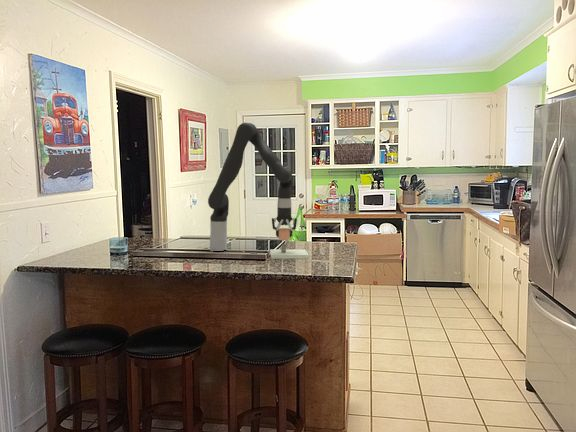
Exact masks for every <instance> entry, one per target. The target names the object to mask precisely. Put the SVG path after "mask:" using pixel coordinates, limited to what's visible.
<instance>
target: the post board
mask: <svg viewBox="0 0 576 432" xmlns="http://www.w3.org/2000/svg"><path fill="white" fill-rule="evenodd" d="M286 247H287V244H285V243H282V244H281V249H269V254H270V258H271V259H272V260H273V259H274V260H275V259H278V260H279V259H281V260H282V259H285V260H286V259H287V260H289V259H303V260H304V259H306V260H308V259H310V258H309V257H310V255H309V253H308V251H307V250H306V249H287V248H286Z"/></svg>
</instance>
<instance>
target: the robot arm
mask: <svg viewBox="0 0 576 432" xmlns="http://www.w3.org/2000/svg"><path fill="white" fill-rule="evenodd" d="M249 143H251V144H252V145H253V147H255V149H256V150H257V152H258V153H259V156H260V158H261V159H262V161H263V162H264V163H265V165H267V167H268V168H269V169H270V170H271V172H272V173H273V175H274V177H275V179H277V181H279V188H278V191H277V204H276V205H277V215H276V217H271V225H272V226H271V227H272V229H273V230H275V236H276V238H278V237H279V228H281V226H288V228H289V229H290V238H291V237H293V231H294V230H296V229H297V223H298V219H297V217H293V216H292V184H293V173H292V171H291V170H290V169H287V168H285V166H284V165H283V164H282V161H281V160H280V158H279V157H278V156H277V155H276V154H275V152H274V151H273V150H272V149H271V148H270V147H269V144H267V143H266V141H265V140H264V138H263V136H262V135H261V133H260V132H259V129H258V128H257V127H256V125H255V124H253V123H251V122H242V123H241V124H239V125H238V126H237V130H236V131H235V135H234V139H233V142H232V145H231V147H230V149H229V152H228V153H227V155H226V158H225V161H224V162H223V165H222V168H221V170H220V173H219V176H218V178H217V180H216V183H215V185H214V187H212V188H213V189H212V190H211V192H210V194H209V196H208V198H207V199H208V201H207V204H208V206H209V208H210V209H212V210H213V211H212V214H211V215H210V220H209V222H210V227H209V228H210V234H209V251H210V252H213V251H223V250H228V249H227V248H228V246H227V245H228V243H227V242H228V240H227V238H228V228H227V227H228V216H229V206H230V205H229V200H230V199H229V196H228V195H227V191H228V189H229V188H230V186H231V185H232V184H233V182H234V181H235V180H236V178H237V177H238V175H239V173H240V171H241V168H242V165H243V160H244V153H245V149H246V147H247V145H248V144H249ZM276 221H277V222H278V223H277V225H276V224H275V223H276ZM291 222H293V226H292V225H291V224H290V223H291ZM275 225H276V226H275Z"/></svg>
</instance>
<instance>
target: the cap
mask: <svg viewBox="0 0 576 432" xmlns="http://www.w3.org/2000/svg"><path fill="white" fill-rule="evenodd" d="M277 238H278V240H281V241H288V240H290V239H291V237H290V228H289V227H280V228H279V237H277Z"/></svg>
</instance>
